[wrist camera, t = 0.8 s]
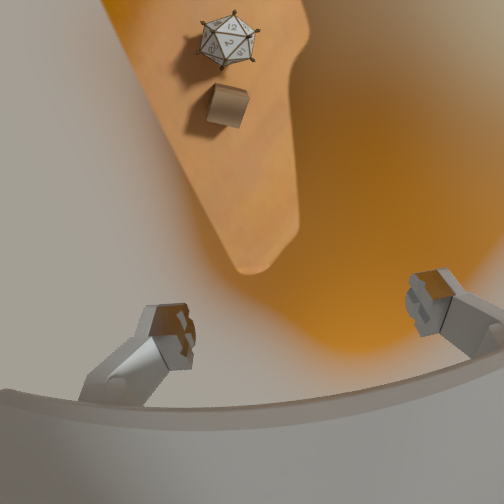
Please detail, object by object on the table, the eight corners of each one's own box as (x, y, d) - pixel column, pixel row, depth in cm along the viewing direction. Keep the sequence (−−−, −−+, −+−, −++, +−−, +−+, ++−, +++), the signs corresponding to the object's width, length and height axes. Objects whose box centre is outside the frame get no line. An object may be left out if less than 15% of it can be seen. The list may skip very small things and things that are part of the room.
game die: (228, 47, 42) (223, 92, 40) (188, 21, 35) (176, 65, 34) (273, 22, 36) (273, 67, 34) (232, -11, 30) (226, 30, 28)
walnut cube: (215, 82, 43) (215, 90, 39) (246, 90, 44) (249, 98, 41) (206, 110, 46) (206, 121, 42) (236, 117, 47) (239, 128, 44)
